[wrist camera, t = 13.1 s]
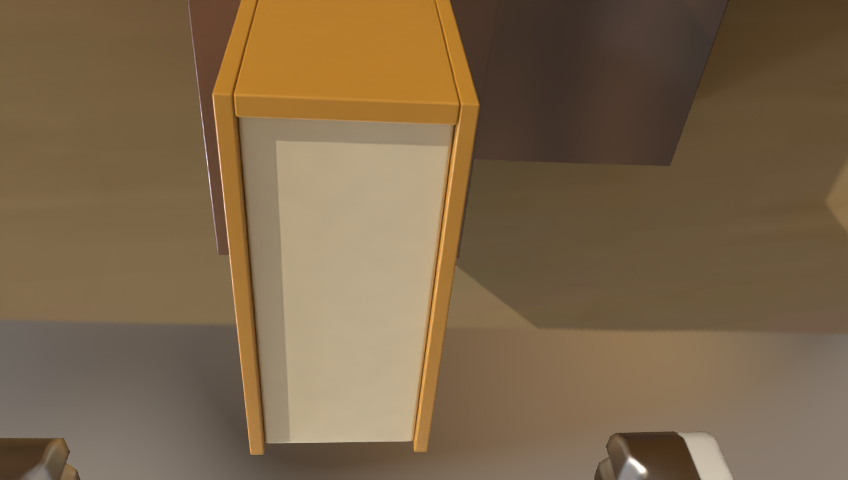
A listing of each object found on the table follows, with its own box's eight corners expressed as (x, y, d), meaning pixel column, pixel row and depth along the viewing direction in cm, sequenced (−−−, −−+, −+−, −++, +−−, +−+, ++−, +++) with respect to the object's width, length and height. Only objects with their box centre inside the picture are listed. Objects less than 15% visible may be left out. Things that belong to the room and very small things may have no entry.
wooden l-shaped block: (760, -245, 27) (945, -198, 19) (643, 124, 37) (729, 263, 29) (220, -301, 25) (153, -275, 17) (249, 109, 35) (217, 255, 27)
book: (424, -94, 20) (480, 103, 11) (401, 181, 25) (427, 452, 17) (273, -105, 19) (211, 93, 11) (284, 178, 25) (250, 455, 16)
